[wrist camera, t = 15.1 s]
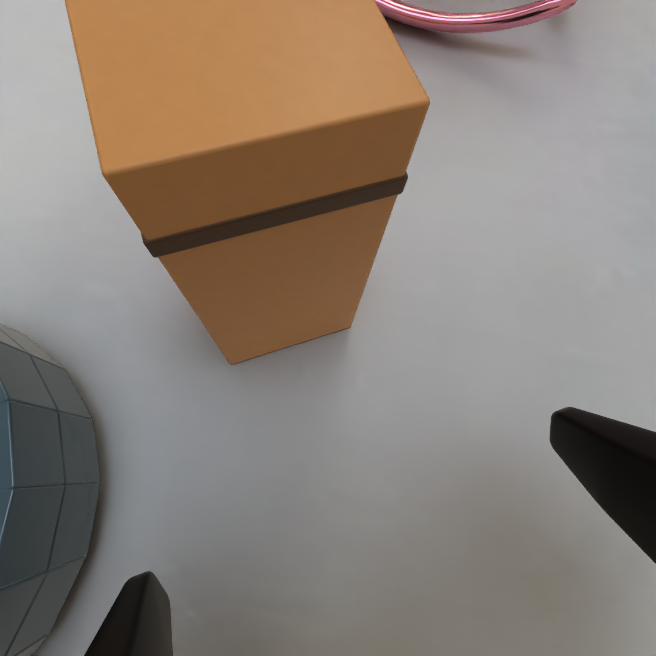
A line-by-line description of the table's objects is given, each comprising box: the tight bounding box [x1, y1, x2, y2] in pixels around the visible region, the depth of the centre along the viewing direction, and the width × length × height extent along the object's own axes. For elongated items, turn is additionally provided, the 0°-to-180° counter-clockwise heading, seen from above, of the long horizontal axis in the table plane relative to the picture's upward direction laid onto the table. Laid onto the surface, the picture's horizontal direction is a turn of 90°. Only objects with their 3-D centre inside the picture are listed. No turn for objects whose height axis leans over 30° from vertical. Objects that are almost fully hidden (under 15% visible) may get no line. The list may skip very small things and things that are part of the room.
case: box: [65, 0, 430, 364], centre depth 12 cm, size 4×6×12 cm
